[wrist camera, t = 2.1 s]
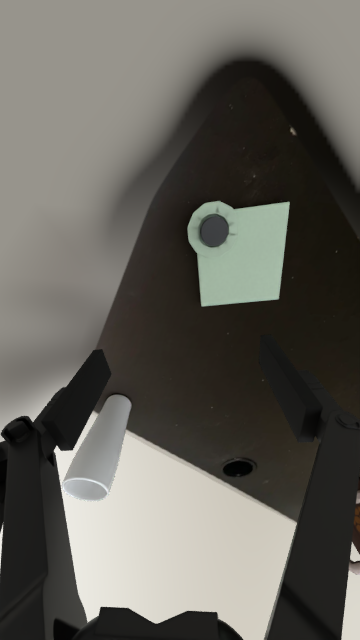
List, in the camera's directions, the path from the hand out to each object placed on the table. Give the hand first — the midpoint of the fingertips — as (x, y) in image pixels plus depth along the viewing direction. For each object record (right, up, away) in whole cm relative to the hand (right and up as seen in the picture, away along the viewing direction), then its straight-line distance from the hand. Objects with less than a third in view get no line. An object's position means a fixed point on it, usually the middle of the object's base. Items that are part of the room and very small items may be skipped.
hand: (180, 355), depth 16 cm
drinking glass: (-13, -14, +25) cm, 31 cm away
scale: (+8, +11, +10) cm, 17 cm away
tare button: (+4, +13, +7) cm, 15 cm away
